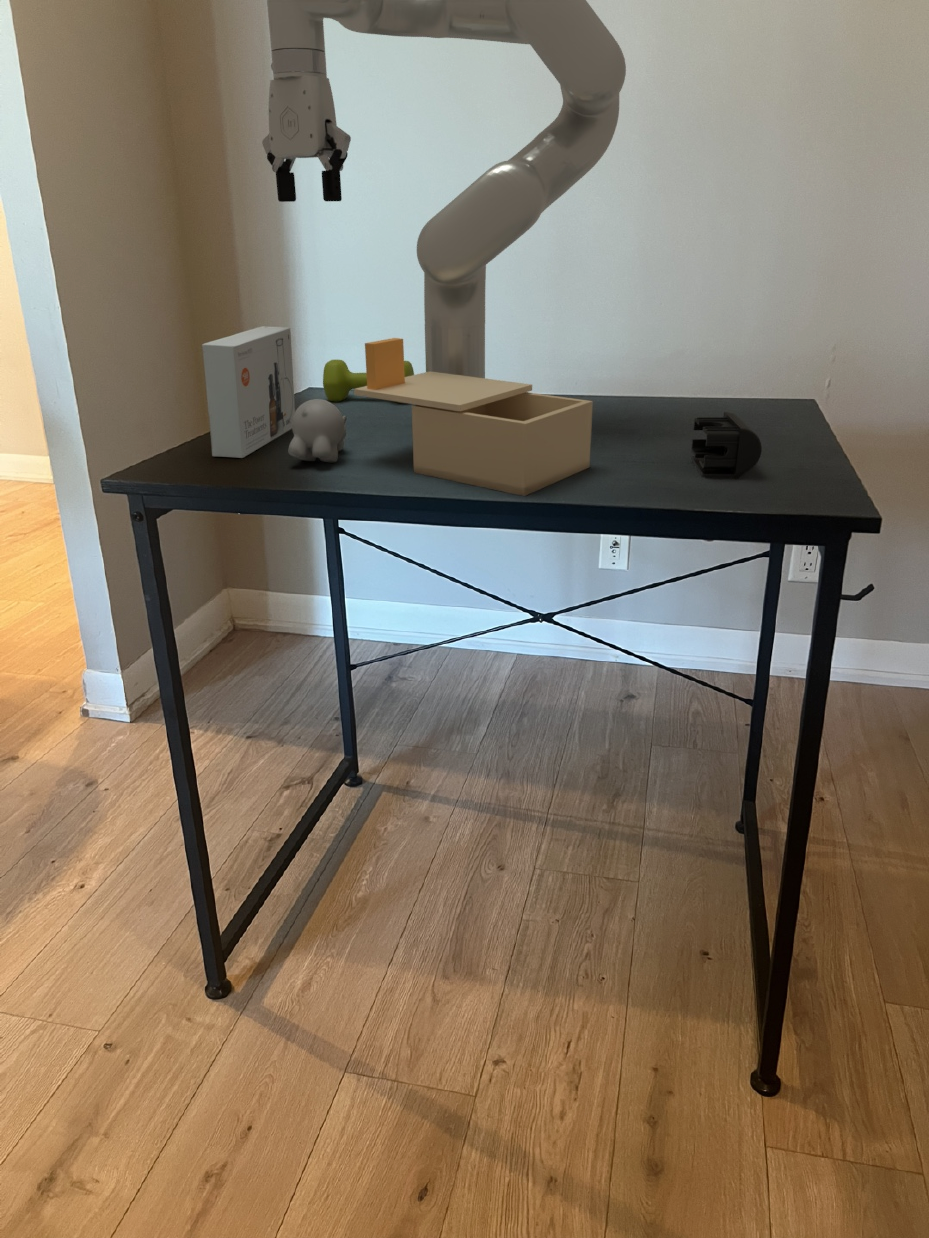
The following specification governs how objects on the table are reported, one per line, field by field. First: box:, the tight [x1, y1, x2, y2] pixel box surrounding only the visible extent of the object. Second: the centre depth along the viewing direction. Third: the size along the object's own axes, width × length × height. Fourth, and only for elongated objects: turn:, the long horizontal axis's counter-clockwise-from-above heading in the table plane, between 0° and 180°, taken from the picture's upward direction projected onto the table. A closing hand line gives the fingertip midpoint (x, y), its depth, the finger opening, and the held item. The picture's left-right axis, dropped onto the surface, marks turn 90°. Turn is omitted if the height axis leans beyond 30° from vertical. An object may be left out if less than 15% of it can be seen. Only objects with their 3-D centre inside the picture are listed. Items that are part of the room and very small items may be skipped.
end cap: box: [690, 411, 762, 479], centre depth 119 cm, size 10×7×7 cm
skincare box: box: [201, 325, 296, 459], centre depth 133 cm, size 21×5×16 cm, turn 168°
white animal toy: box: [287, 398, 347, 464], centre depth 126 cm, size 7×12×8 cm, turn 162°
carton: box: [411, 391, 594, 497], centre depth 119 cm, size 16×18×9 cm
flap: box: [353, 337, 533, 411], centre depth 121 cm, size 16×18×7 cm
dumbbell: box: [322, 359, 415, 404], centre depth 162 cm, size 16×8×7 cm, turn 80°
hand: (309, 201), depth 133 cm, fingers open, 9 cm apart
